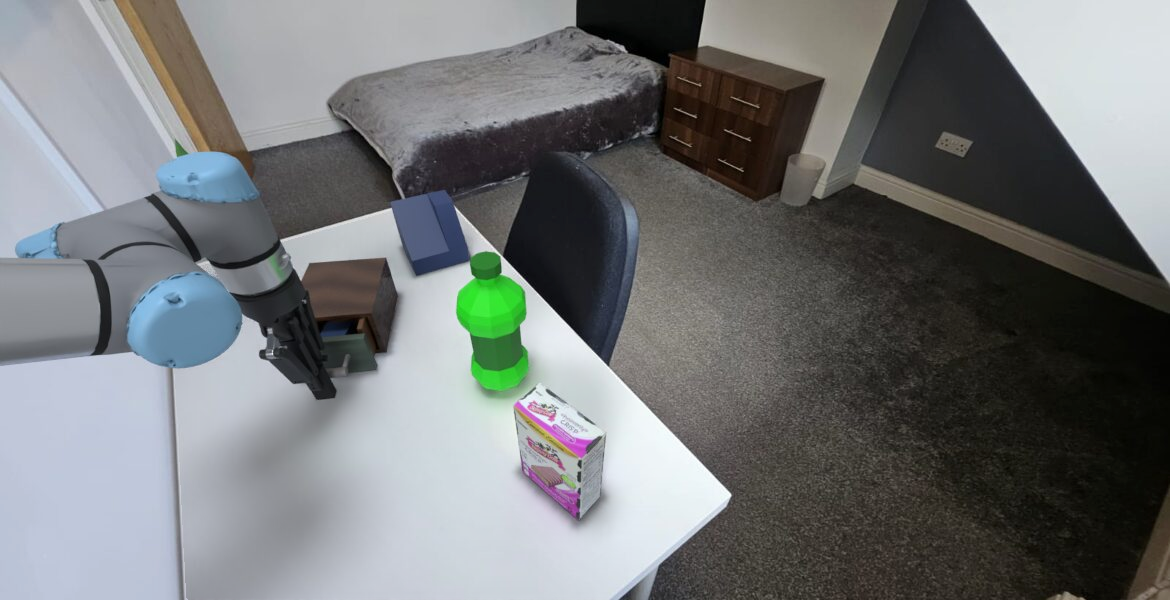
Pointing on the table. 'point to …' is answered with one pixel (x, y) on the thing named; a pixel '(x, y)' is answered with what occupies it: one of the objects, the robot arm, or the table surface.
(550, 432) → the candy bar box
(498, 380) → the plastic bottle
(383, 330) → the cabinet
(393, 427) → the table surface
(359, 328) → the drawer
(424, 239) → the phone stand
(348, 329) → the block
